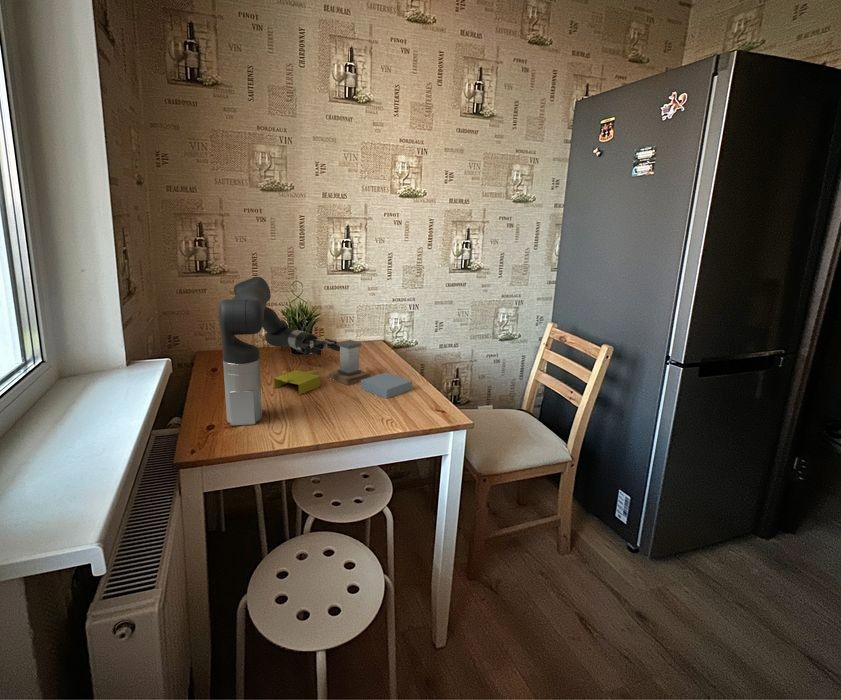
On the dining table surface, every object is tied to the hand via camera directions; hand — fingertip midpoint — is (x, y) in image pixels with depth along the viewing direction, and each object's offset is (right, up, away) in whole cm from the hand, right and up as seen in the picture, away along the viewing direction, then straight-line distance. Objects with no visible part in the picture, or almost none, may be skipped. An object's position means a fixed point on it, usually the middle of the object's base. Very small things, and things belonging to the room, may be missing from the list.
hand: (330, 350), depth 175 cm
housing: (+8, -8, -5) cm, 12 cm away
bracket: (-7, -12, -13) cm, 19 cm away
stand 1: (+7, -10, -4) cm, 13 cm away
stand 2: (+21, -13, -13) cm, 28 cm away
